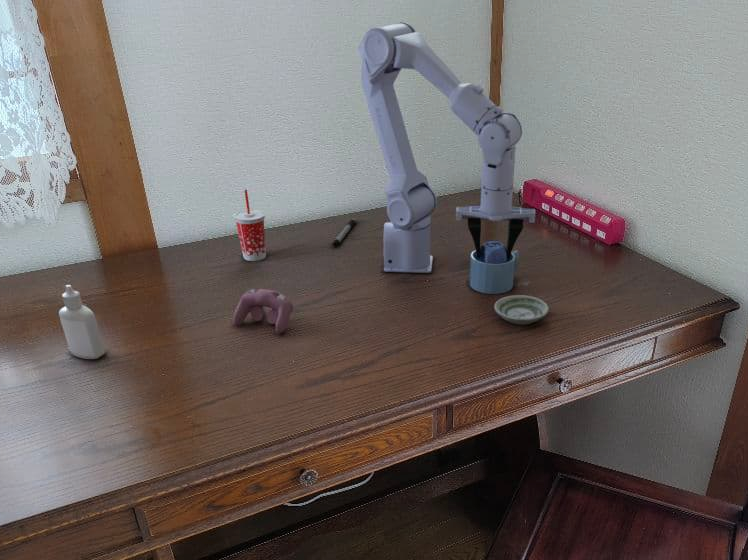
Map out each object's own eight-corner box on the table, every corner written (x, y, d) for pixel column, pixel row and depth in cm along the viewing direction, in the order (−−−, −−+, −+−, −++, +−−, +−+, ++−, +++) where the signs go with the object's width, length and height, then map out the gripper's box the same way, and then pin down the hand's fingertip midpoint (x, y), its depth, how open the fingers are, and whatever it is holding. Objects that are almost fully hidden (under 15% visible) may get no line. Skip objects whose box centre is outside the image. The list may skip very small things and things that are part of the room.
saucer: (517, 301, 137) (518, 289, 136) (558, 319, 132) (559, 307, 130) (482, 317, 132) (483, 305, 130) (523, 336, 126) (524, 324, 125)
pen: (332, 247, 157) (331, 241, 156) (352, 220, 170) (352, 215, 170) (337, 247, 157) (337, 242, 156) (358, 221, 170) (358, 215, 170)
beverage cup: (276, 255, 153) (268, 188, 145) (254, 264, 149) (245, 197, 141) (254, 248, 156) (245, 183, 148) (233, 258, 151) (222, 191, 144)
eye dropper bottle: (80, 365, 116) (59, 296, 109) (68, 351, 119) (47, 283, 112) (108, 356, 118) (89, 288, 111) (95, 342, 122) (76, 276, 115)
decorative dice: (506, 267, 140) (507, 247, 137) (486, 269, 139) (487, 249, 136) (498, 259, 143) (500, 240, 141) (479, 261, 142) (480, 242, 140)
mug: (492, 298, 138) (493, 268, 135) (460, 283, 143) (461, 254, 140) (531, 281, 145) (534, 252, 141) (500, 268, 150) (502, 240, 146)
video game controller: (293, 334, 128) (298, 294, 127) (280, 334, 124) (285, 293, 123) (244, 324, 131) (248, 285, 130) (229, 324, 127) (234, 284, 125)
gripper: (456, 192, 129) (454, 264, 137) (539, 194, 129) (532, 266, 136) (457, 179, 135) (455, 249, 143) (536, 181, 135) (529, 251, 142)
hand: (492, 256), depth 140 cm, fingers closed on decorative dice, 5 cm apart
